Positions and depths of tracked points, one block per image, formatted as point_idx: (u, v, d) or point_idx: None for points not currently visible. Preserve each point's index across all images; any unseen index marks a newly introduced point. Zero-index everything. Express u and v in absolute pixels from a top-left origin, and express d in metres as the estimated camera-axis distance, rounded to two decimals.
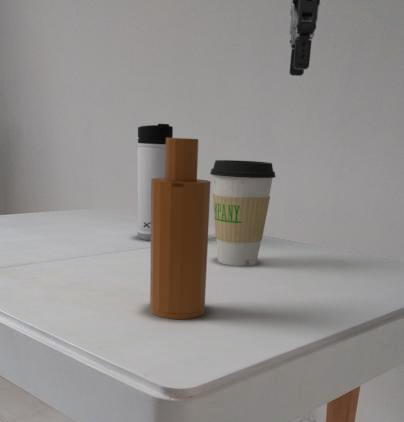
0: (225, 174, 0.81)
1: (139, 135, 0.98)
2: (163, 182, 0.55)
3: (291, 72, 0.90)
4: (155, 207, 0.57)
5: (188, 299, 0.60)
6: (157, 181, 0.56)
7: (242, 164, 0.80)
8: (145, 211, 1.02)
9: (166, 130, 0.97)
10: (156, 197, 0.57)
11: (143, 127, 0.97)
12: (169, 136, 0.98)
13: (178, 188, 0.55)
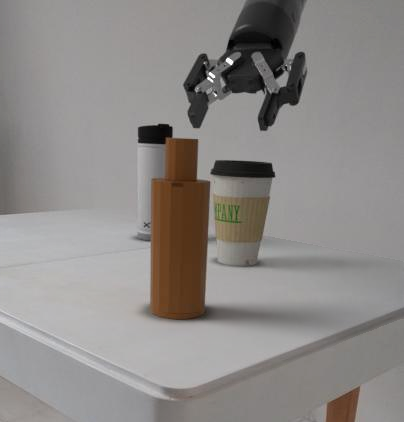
0: (225, 174, 0.81)
1: (139, 135, 0.98)
2: (163, 182, 0.55)
3: (195, 115, 0.66)
4: (155, 207, 0.57)
5: (188, 299, 0.60)
6: (157, 181, 0.56)
7: (242, 164, 0.80)
8: (145, 211, 1.02)
9: (166, 130, 0.97)
10: (156, 197, 0.57)
11: (143, 127, 0.97)
12: (169, 136, 0.98)
13: (178, 188, 0.55)
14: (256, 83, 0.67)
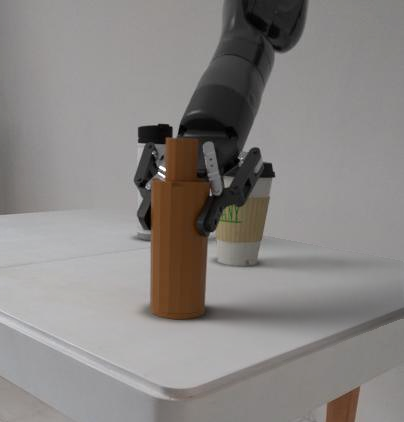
0: None
1: (139, 135, 0.98)
2: (163, 182, 0.55)
3: (145, 218, 0.59)
4: (155, 207, 0.57)
5: (188, 299, 0.60)
6: (157, 181, 0.56)
7: None
8: None
9: (166, 130, 0.97)
10: (156, 197, 0.57)
11: (143, 127, 0.97)
12: (169, 136, 0.98)
13: (178, 188, 0.55)
14: (208, 176, 0.59)
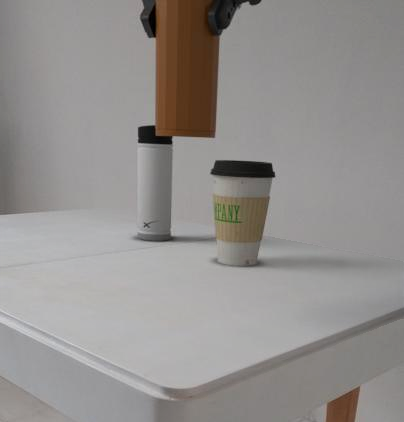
0: (225, 174, 0.81)
1: (139, 135, 0.98)
2: None
3: (149, 18, 0.52)
4: (161, 0, 0.51)
5: (198, 112, 0.53)
6: None
7: (242, 164, 0.80)
8: (145, 211, 1.02)
9: None
10: None
11: (143, 127, 0.97)
12: (169, 136, 0.98)
13: None
14: None
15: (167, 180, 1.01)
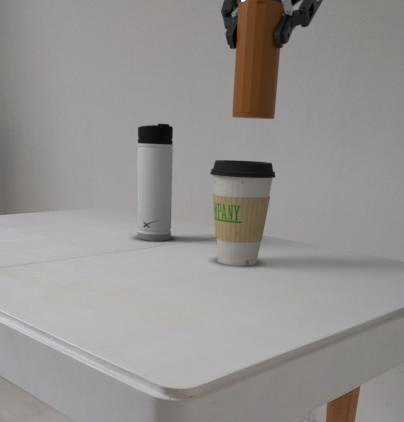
0: (225, 174, 0.81)
1: (139, 135, 0.98)
2: (250, 1, 0.73)
3: (232, 35, 0.76)
4: (242, 24, 0.75)
5: (264, 100, 0.78)
6: (245, 1, 0.74)
7: (242, 164, 0.80)
8: (145, 211, 1.02)
9: (166, 130, 0.97)
10: (243, 15, 0.74)
11: (143, 127, 0.97)
12: (169, 136, 0.98)
13: (261, 4, 0.73)
14: None
15: (167, 180, 1.01)
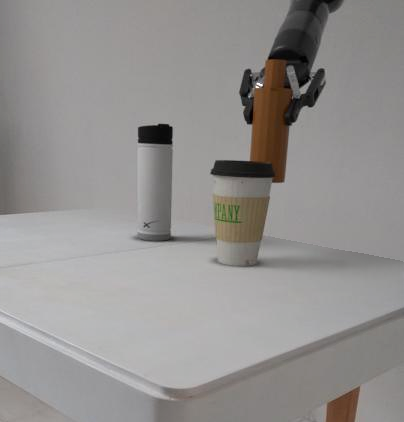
0: (225, 174, 0.81)
1: (139, 135, 0.98)
2: (264, 88, 0.87)
3: (249, 114, 0.90)
4: (257, 106, 0.89)
5: (276, 169, 0.91)
6: (260, 88, 0.88)
7: (242, 164, 0.80)
8: (145, 211, 1.02)
9: (166, 130, 0.97)
10: (259, 99, 0.88)
11: (143, 127, 0.97)
12: (169, 136, 0.98)
13: (274, 91, 0.87)
14: (289, 88, 0.91)
15: (167, 180, 1.01)
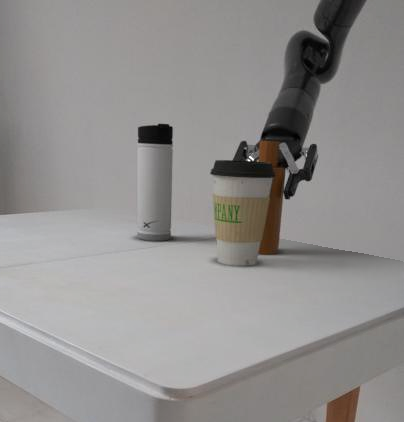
0: (225, 174, 0.81)
1: (139, 135, 0.98)
2: None
3: None
4: None
5: (270, 241, 0.96)
6: None
7: (242, 164, 0.80)
8: (145, 211, 1.02)
9: (166, 130, 0.97)
10: None
11: (143, 127, 0.97)
12: (169, 136, 0.98)
13: None
14: (282, 164, 0.95)
15: (167, 180, 1.01)
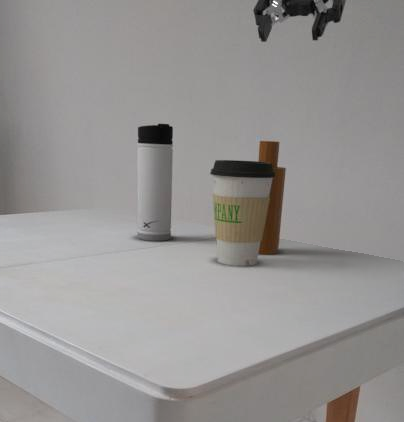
0: (225, 174, 0.81)
1: (139, 135, 0.98)
2: None
3: (264, 30, 0.90)
4: None
5: (270, 241, 0.96)
6: None
7: (242, 164, 0.80)
8: (145, 211, 1.02)
9: (166, 130, 0.97)
10: None
11: (143, 127, 0.97)
12: (169, 136, 0.98)
13: None
14: (308, 7, 0.91)
15: (167, 180, 1.01)
